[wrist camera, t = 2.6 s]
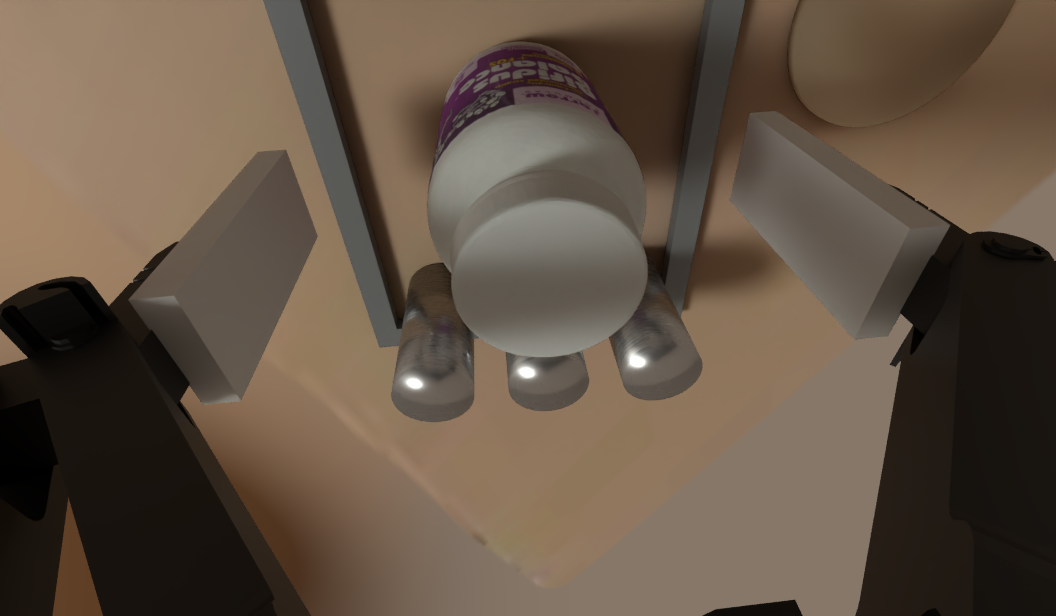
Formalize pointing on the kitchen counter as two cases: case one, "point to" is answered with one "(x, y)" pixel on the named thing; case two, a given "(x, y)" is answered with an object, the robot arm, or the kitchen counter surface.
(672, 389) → the spacers
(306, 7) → the parts tray rim
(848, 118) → the cork coaster
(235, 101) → the kitchen counter surface
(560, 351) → the pill bottle
